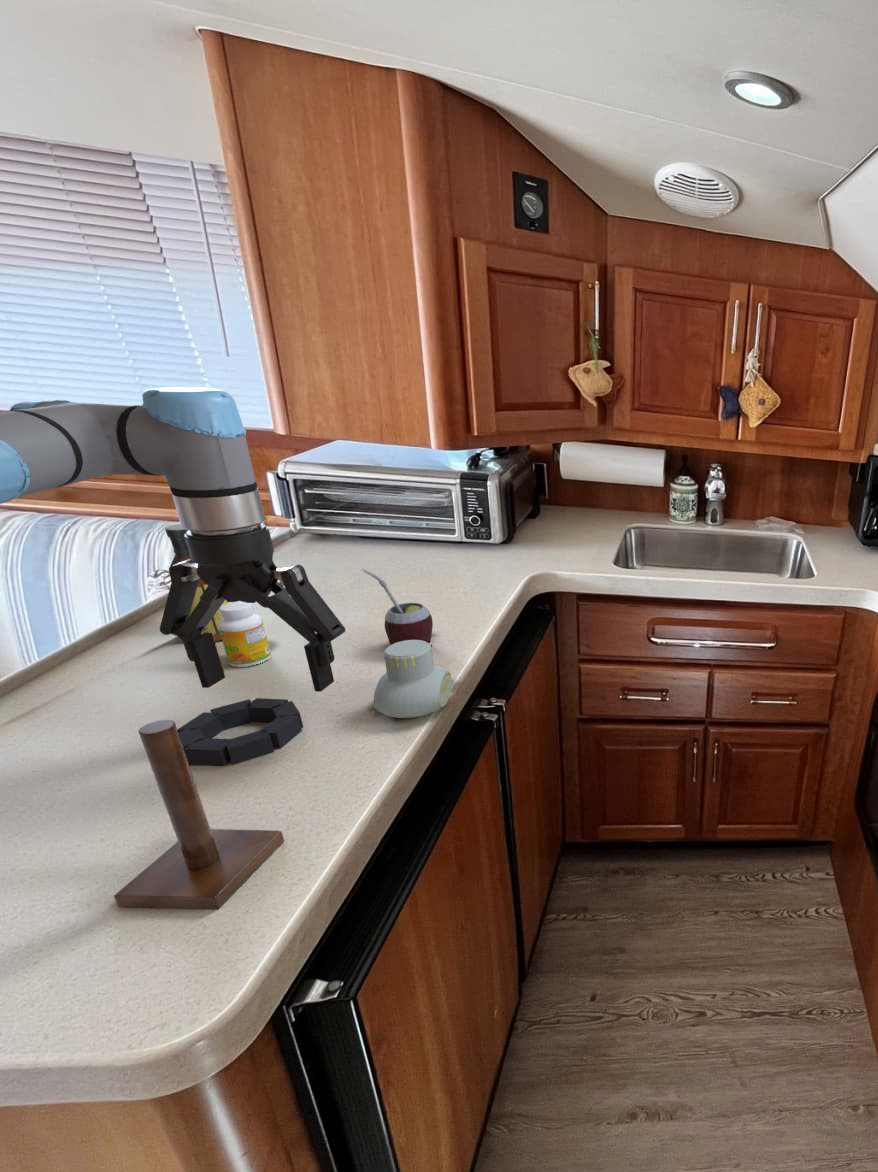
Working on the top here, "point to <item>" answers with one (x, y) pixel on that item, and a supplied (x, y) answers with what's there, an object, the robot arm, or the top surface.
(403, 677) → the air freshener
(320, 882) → the top surface
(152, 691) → the top surface
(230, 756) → the ring
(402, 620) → the mate gourd
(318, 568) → the top surface
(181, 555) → the sauce bottle
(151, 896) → the stand
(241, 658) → the supplement bottle
